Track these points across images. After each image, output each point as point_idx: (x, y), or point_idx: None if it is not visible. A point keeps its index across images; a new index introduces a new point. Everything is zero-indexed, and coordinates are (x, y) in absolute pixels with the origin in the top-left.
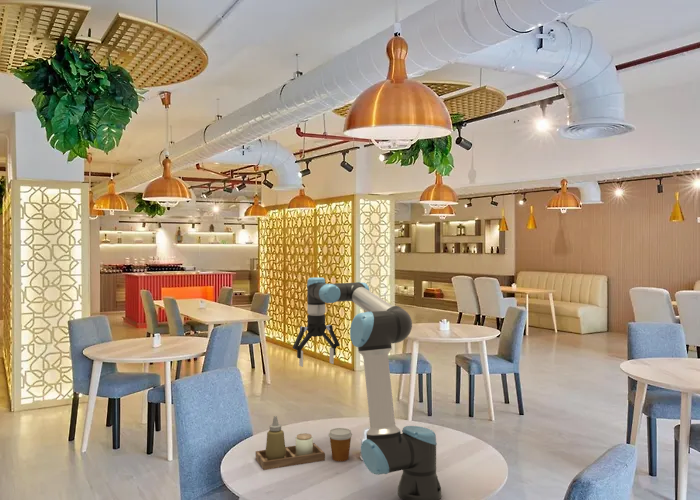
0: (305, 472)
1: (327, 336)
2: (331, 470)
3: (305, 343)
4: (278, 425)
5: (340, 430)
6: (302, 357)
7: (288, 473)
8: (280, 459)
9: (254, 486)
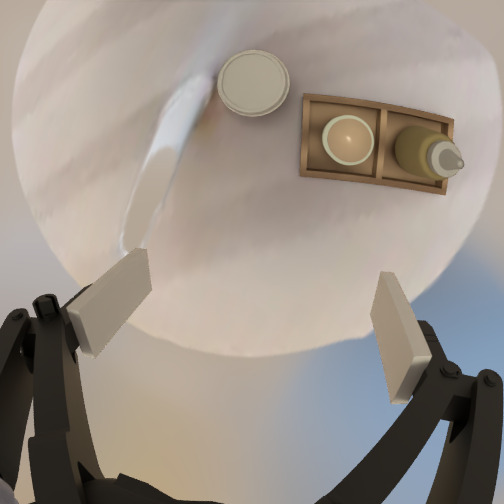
0: (366, 68)
1: (36, 421)
2: (307, 49)
3: (397, 429)
4: (441, 151)
5: (244, 95)
6: (403, 312)
7: (402, 83)
8: (418, 111)
9: (473, 70)
